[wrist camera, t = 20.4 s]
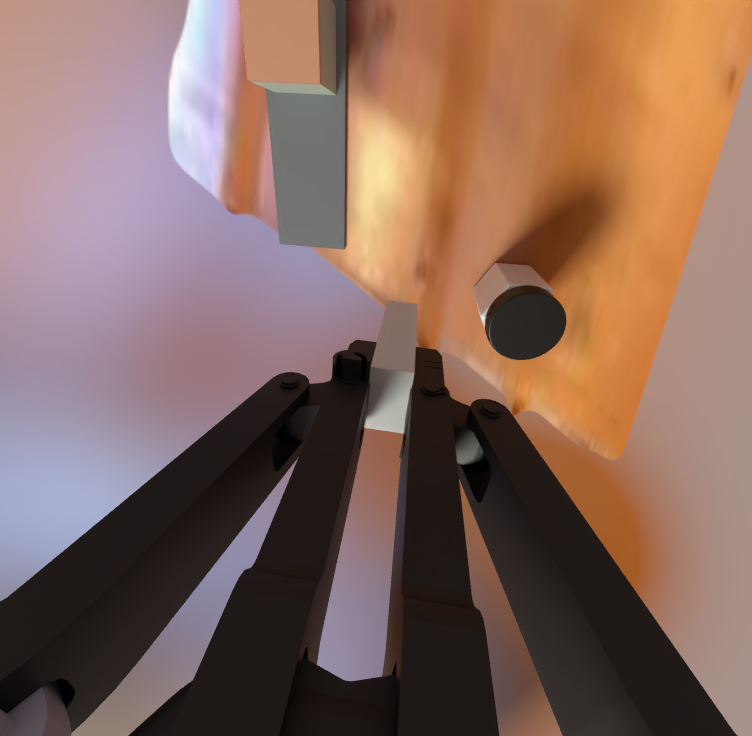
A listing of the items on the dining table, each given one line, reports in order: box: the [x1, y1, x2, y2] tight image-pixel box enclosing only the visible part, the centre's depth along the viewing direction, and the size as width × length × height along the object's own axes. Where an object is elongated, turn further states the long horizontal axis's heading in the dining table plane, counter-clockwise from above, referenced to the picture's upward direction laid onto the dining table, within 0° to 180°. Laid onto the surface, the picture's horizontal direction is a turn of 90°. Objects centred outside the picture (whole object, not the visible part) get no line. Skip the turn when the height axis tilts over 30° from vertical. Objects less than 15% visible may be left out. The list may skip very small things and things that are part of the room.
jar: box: [472, 263, 566, 360], centre depth 43 cm, size 9×8×12 cm
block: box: [239, 0, 336, 95], centre depth 34 cm, size 7×7×7 cm
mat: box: [266, 0, 347, 249], centre depth 40 cm, size 28×9×1 cm, turn 177°
